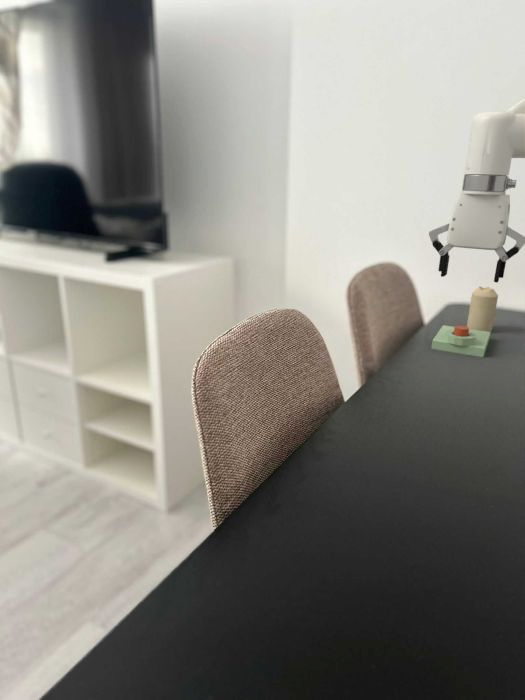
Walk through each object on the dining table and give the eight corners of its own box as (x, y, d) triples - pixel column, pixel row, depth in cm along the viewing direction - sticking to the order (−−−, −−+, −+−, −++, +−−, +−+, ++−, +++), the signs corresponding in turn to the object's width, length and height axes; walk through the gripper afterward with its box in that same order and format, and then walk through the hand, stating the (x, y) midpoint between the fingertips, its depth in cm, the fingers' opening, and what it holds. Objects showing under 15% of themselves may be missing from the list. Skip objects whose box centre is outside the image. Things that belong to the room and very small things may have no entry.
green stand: (489, 340, 112) (491, 324, 111) (483, 358, 101) (485, 341, 99) (441, 333, 116) (443, 318, 115) (430, 350, 105) (432, 333, 104)
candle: (462, 329, 119) (468, 287, 116) (472, 325, 123) (479, 284, 120) (485, 334, 116) (493, 291, 112) (495, 330, 119) (503, 288, 116)
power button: (468, 335, 105) (470, 326, 104) (467, 338, 102) (468, 330, 102) (454, 332, 106) (455, 324, 105) (452, 336, 103) (453, 328, 103)
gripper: (537, 187, 93) (519, 280, 99) (439, 184, 101) (427, 270, 106) (536, 187, 87) (517, 287, 92) (432, 184, 94) (420, 276, 100)
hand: (469, 278), depth 99 cm, fingers open, 9 cm apart
